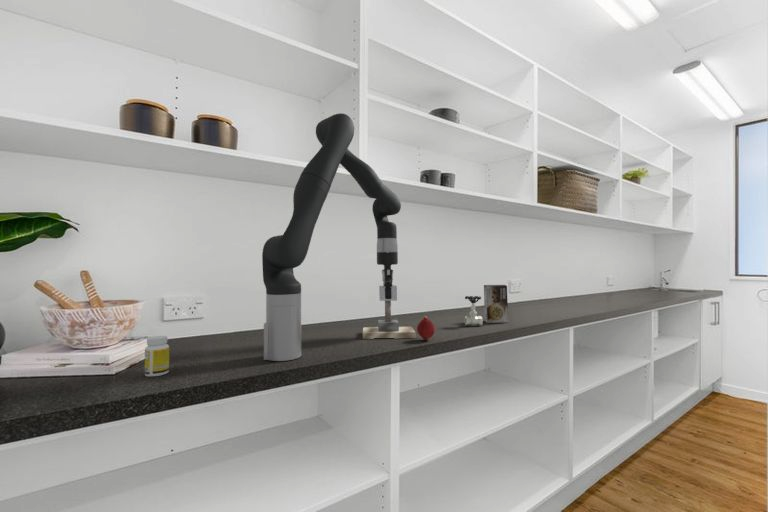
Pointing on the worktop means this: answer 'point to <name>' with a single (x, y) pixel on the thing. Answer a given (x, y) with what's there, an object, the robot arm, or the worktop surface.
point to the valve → (473, 313)
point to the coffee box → (495, 303)
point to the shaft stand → (388, 328)
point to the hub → (393, 293)
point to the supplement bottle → (156, 356)
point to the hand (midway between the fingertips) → (387, 298)
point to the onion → (426, 328)
